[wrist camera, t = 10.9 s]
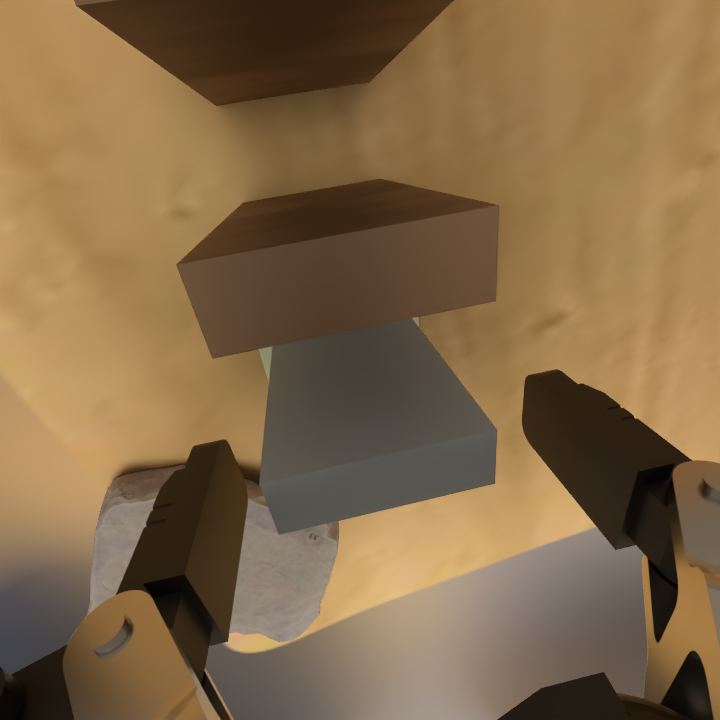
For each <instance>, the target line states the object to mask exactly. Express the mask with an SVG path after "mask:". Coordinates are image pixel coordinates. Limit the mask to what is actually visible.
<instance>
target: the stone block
mask: <svg viewBox="0 0 720 720" xmlns="http://www.w3.org/2000/svg"><path fill="white" fill-rule="evenodd" d="M185 466H186V465H183V464H181V465H177V466H173V467H167V468H158V469H152V470H147V471H140V472H134V473H130V474H126V475H123V476H120V477H117V478H115V479H114V480H113V482H112V484H111V485H110V486H109V488H108V490H107V492H106V495H105V497H104V500H103V504H102V507H101V511H100V514H99V518H98V523H97V526H96V531H95V534H94V556H93V560H92V570H91V585H90V591H91V596H90V599H91V600H90V605H89V610H88V613H87V615H86V617H87V616H88V615H89V614H90V613H91V612H92V611H93V610H94V609H95V608H96V607H98V606H99V605H100V604H102V603H103V602H105V601H106V600H107V599H109V598H111V597H113V596H115V595H116V593H117V591H118V588H119V586H120V584H121V581H122V579H123V576H124V574H125V572H126V569H127V567H128V564H129V562H130V560H131V557H132V555H133V552H134V550H135V548H136V545H137V543H138V540H139V538H140V536H141V533H142V531H143V529H144V527H146V521H147V519H148V517H149V514H150V512H151V511H153V505H154V502H155V500H156V497H157V495H158V493H159V490H160V488H161V487H162V486H163V485H164V483H165V482H166V481H167V480H168V479H169V477H170V476H171V475H172V474H173V473H174V472H175V470H180V469H184V468H185ZM244 480H245V483H246V487H247V494H248V507H247V514H246V520H245V527H244V534H243V541H242V548H241V555H240V562H239V568H238V575H237V582H236V589H235V596H234V603H233V610H232V616H231V623H230V630H229V633H233V632H238V633H241V634H255V633H258V634H262V635H265V636H267V637H268V638H271V639H273V640H275V641H278V642H285V641H290V640H293V639H295V638H296V637H298V636H300V635H301V634H302V633H303V632H304V631H306V630H307V629H308V628H309V627H310V625H311V624H312V623H313V621H314V620H315V618H316V617H318V616H319V614H320V612H319V610H320V603H321V600H322V598H323V595H324V592H325V589H326V586H327V584H328V582H329V579H330V575H331V571H332V568H333V565H334V561H335V558H336V555H337V549H338V540H339V523H338V521H336V522H331V523H327V524H323V525H319V526H315V527H310V528H306V529H302V530H298V531H294V532H289V533H285V534H281V535H279V534H278V531H277V529H276V526H275V523H274V521H273V518H272V516H271V513H270V511H269V508H268V505H267V503H266V500H265V498H264V495H263V493H262V490H261V488H260V485H259V484H257V483H256V482H254V481H252V480H249V479H244Z"/></svg>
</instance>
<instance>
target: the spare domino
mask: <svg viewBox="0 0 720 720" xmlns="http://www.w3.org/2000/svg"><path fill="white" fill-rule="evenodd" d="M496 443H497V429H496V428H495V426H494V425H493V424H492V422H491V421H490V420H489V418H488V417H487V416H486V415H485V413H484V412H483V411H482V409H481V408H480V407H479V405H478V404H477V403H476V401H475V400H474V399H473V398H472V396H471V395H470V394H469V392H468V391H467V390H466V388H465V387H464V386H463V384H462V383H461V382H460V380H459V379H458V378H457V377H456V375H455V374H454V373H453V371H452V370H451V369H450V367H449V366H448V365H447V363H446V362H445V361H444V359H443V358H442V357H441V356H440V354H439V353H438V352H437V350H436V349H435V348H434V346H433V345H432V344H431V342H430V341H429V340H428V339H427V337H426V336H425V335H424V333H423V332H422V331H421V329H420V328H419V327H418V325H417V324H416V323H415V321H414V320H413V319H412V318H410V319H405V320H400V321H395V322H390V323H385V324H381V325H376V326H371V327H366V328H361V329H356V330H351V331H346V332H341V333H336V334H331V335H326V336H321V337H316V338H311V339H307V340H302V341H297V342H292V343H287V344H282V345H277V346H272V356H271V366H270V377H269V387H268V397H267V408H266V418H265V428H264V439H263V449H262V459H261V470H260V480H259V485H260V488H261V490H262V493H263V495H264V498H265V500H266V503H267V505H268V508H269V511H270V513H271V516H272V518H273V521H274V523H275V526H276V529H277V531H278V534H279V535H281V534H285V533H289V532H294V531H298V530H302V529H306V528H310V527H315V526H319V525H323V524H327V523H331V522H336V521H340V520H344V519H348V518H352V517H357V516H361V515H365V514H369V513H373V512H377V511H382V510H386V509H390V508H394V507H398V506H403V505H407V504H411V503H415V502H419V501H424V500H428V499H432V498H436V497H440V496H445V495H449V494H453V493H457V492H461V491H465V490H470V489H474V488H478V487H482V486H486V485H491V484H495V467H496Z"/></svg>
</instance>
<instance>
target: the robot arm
mask: <svg viewBox="0 0 720 720" xmlns="http://www.w3.org/2000/svg"><path fill="white" fill-rule="evenodd" d="M522 426H523V431H524V434H525V436H526V438H527V440H528V442H529V443H530V445H531V446H532V447H533V448H534V450H535V451H536V452H537V453H538V455H539V456H540V457H541V458H542V460H543V461H544V462H545V463H546V464H547V466H548V467H549V468H550V469H551V471H552V472H553V473H554V474H555V476H556V477H557V478H558V479H559V481H560V482H561V483H562V484H563V485H564V487H565V488H566V489H567V490H568V492H569V493H570V494H571V495H572V497H573V498H574V499H575V500H576V502H577V503H578V504H579V505H580V506H581V508H582V509H583V510H584V511H585V513H586V514H587V515H588V516H589V518H590V519H591V520H592V521H593V523H594V524H595V525H596V526H597V527H598V529H599V530H600V531H601V532H602V534H603V535H604V536H605V537H606V539H607V540H608V541H609V542H610V543H611V545H612V546H613V547H614V548H615V550H617V549H621V548H625V547H629V546H633V545H637V546H638V547H639V549H640V550H641V551H642V552H643V553H644V557H643V560H642V571H643V572H642V573H643V587H644V601H645V615H646V629H647V643H648V660H647V667H646V674H645V682H644V699H643V698H639V697H635V696H630V695H626V694H620V693H616V692H615V690H614V689H613V687H612V685H611V683H610V682H609V680H608V678H607V677H606V675H605V673H604V672H602V673H599V674H595V675H591V676H587V677H583V678H579V679H575V680H571V681H567V682H564V683H560V684H556V685H552V686H548V687H544V688H541V689H540V690H538V691H537V692H535V693H534V694H532V695H531V696H530V697H528V698H527V699H525V700H524V701H523V702H521V703H520V704H519V705H517V706H516V707H514V708H513V709H512V710H510V711H509V712H507V713H506V714H505V715H503V716H502V717H501V718H499V719H498V720H720V463H715V462H710V461H692V460H691V459H689V458H688V457H687V456H686V455H684V454H683V453H682V452H680V451H679V450H678V449H676V448H675V447H674V446H673V445H671V444H670V443H669V442H667V441H666V440H665V439H663V438H662V437H661V436H660V435H658V434H657V433H656V432H654V431H653V430H652V429H650V428H649V427H648V426H646V425H645V424H644V423H643V422H641V421H640V420H639V419H635V418H634V416H633V415H632V414H631V413H630V412H628V411H627V410H626V409H624V408H621V407H620V405H619V404H618V403H617V402H615V401H614V400H613V399H611V398H610V397H609V396H607V395H606V394H605V393H603V392H601V391H599V390H596V389H594V388H592V387H589V386H587V385H585V384H577V383H575V382H574V381H573V380H572V379H570V378H569V377H568V376H567V375H566V374H564V373H563V372H562V371H560V370H557V369H556V370H551V371H546V372H541V373H537V374H532V375H528V376H527V377H526V379H525V385H524V399H523V413H522ZM247 507H248V494H247V487H246V483H245V480H244V478H243V476H242V473H241V471H240V468H239V466H238V464H237V461H236V459H235V457H234V454H233V452H232V450H231V447H230V445H229V443H228V442H227V441H226V440H224V439H223V440H219V441H214V442H209V443H205V444H200V445H196V446H194V447H193V448H192V450H191V453H190V455H189V458H188V461H187V464H186V466H185V468H184V469H180V470H175V472H174V473H173V474H172V475H171V476H170V477H169V479H168V480H167V481H166V482H165V483H164V485H163V486H162V487H161V488H160V490H159V493H158V495H157V497H156V500H155V502H154V505H153V511H151V512H150V514H149V517H148V519H147V521H146V527H144V529H143V531H142V533H141V536H140V538H139V540H138V543H137V545H136V548H135V550H134V552H133V555H132V557H131V560H130V562H129V564H128V567H127V569H126V572H125V574H124V576H123V579H122V581H121V584H120V586H119V588H118V591H117V593H116V595H115V596H113V597H111V598H109V599H107V600H106V601H105V602H103V603H102V604H100V605H99V606H98V607H96V608H95V609H94V610H93V611H92V612H91V613H90V614H89V615H88V616H87V617H86V618H85V619H84V620H83V621H82V622H81V624H80V625H79V626H78V628H77V629H76V630H75V632H74V633H73V635H72V637H71V639H70V640H69V642H68V644H67V645H66V646H64V647H62V648H60V649H58V650H57V651H55V652H53V653H51V654H49V655H47V656H45V657H43V658H42V659H40V660H38V661H36V662H34V663H32V664H30V665H29V666H27V667H25V668H23V669H21V670H20V671H17V672H15V673H14V674H12V675H10V674H9V673H8V672H6V671H5V670H4V669H2V668H1V667H0V720H234V719H233V717H232V716H231V714H230V712H229V710H228V708H227V706H226V705H225V703H224V701H223V699H222V697H221V695H220V694H219V692H218V690H217V688H216V686H215V685H214V683H213V681H212V679H211V677H210V675H209V674H208V672H207V670H206V669H205V664H206V659H207V654H208V648H209V646H211V645H215V644H219V643H224V642H228V637H229V630H230V623H231V616H232V610H233V603H234V596H235V589H236V582H237V575H238V568H239V562H240V555H241V548H242V541H243V534H244V527H245V520H246V514H247Z"/></svg>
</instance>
